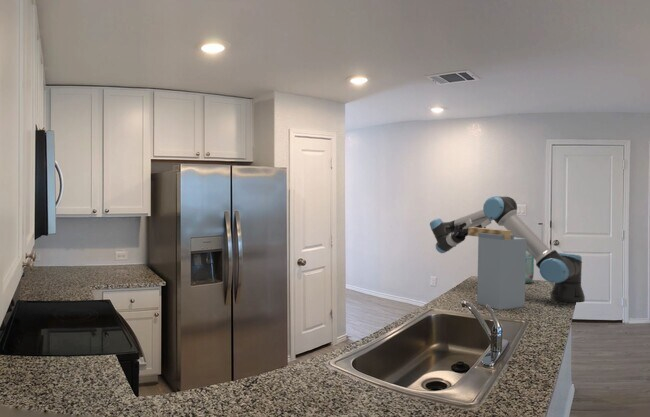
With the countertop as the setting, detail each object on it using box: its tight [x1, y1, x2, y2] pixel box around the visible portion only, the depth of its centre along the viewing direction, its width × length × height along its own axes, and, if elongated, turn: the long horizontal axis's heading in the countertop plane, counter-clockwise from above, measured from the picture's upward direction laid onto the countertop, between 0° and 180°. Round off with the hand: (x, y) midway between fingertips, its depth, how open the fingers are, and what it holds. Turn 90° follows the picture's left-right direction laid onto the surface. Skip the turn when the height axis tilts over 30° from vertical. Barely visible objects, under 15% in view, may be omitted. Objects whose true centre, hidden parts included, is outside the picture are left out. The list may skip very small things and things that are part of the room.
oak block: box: [467, 227, 512, 240], centre depth 225 cm, size 23×4×4 cm, turn 27°
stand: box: [476, 233, 526, 311], centre depth 223 cm, size 14×16×34 cm
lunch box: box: [525, 250, 535, 284], centre depth 284 cm, size 27×10×21 cm, turn 67°
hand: (480, 220), depth 248 cm, fingers open, 13 cm apart
